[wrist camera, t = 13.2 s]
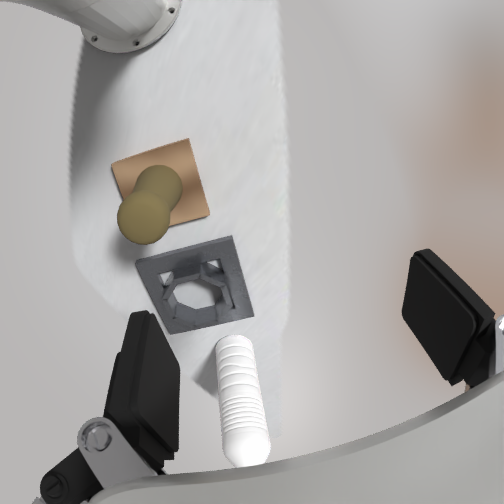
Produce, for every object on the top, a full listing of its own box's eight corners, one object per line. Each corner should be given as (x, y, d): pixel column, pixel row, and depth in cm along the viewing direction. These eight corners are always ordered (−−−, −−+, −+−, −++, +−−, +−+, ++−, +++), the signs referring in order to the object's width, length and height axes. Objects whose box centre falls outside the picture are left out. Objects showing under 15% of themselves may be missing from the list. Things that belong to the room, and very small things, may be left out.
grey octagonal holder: (136, 260, 41) (131, 273, 38) (232, 235, 41) (234, 247, 38) (171, 330, 48) (169, 345, 45) (253, 312, 48) (256, 326, 45)
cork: (147, 218, 37) (128, 263, 27) (127, 176, 34) (97, 209, 24) (190, 200, 37) (183, 241, 27) (171, 156, 34) (155, 182, 24)
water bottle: (211, 337, 49) (220, 478, 28) (249, 330, 50) (274, 470, 28) (223, 368, 54) (235, 493, 32) (257, 362, 54) (281, 486, 32)
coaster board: (113, 162, 34) (111, 164, 33) (188, 138, 34) (188, 139, 33) (138, 231, 39) (137, 235, 38) (209, 212, 39) (209, 215, 38)
